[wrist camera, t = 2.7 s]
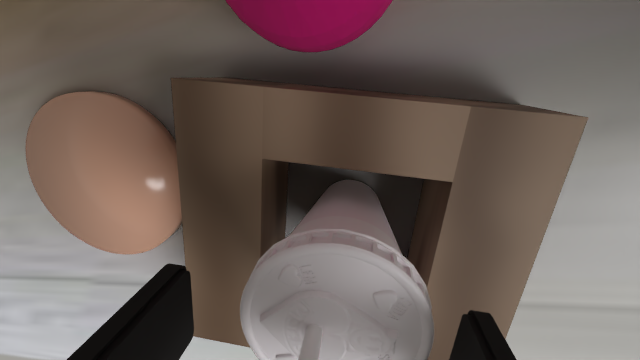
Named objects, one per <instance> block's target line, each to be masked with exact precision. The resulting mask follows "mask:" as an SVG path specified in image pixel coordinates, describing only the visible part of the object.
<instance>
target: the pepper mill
mask: <svg viewBox="0 0 640 360" xmlns="http://www.w3.org/2000/svg"><path fill="white" fill-rule="evenodd" d="M226 2H227V3H228V4H229V6H230V7H231V8H232V9H233V11H234V12H235V13H236V14H237V15H238V17H239V18H240V19H241V20H242V21H243V22H244V23H245V24H246V25H248V26H249V27H250V28H251V29H252V30H254V31H255V32H256V33H258V34H259V35H260V36H262V37H263V38H265V39H266V40H268V41H270V42H272V43H274V44H275V45H277V46H280V47H283V48H286V49H289V50H293V51H299V52H321V51H327V50H332V49H334V48H337V47H340V46H343V45H345V44H347V43H349V42H351V41H353V40H354V39H356V38H358V37H359V36H360V35H362V34H363V33H364V32H366V31H367V30H368V29H370V28H371V27H372V26H373V24H374V23H375V22H376V21H377V20H378V19H379V18H380V17H381V16H382V15H383V13H384V12H385V11H386V9H387V8H388V6H389V5H390V3H391V2H392V0H226Z"/></svg>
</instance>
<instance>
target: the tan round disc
mask: <svg viewBox="0 0 640 360" xmlns="http://www.w3.org/2000/svg"><path fill="white" fill-rule="evenodd" d="M26 161H27V166H28V171H29V174H30V177H31V180H32V183H33V185H34V187H35V190H36V192H37V193H38V195H39V197H40V199H41V201H42V202H43V204H44V205H45V206H46V208H47V209H48V211H49V212H50V213H51V214H52V216H53V217H54V218H55V219H56V220H57V221H58V222H59V223H60V224H61V225H62V226H63V227H64V228H65V229H67V230H68V231H69V232H70V233H71V234H73V235H74V236H76V237H77V238H78V239H80V240H82V241H84V242H85V243H87V244H89V245H91V246H93V247H95V248H98V249H101V250H104V251H107V252H111V253H117V254H137V253H143V252H146V251H149V250H151V249H153V248H155V247H157V246H159V245H160V244H161V243H163V242H164V241H165V240H167V239H168V238H169V237H170V236H171V235H173V234H174V233H175V232H176V231H177V230H178V229H179V227H180V226H181V224H182V214H181V201H180V189H179V176H178V163H177V151H176V142H175V140H174V139H173V137H172V136H171V134H170V133H169V132H168V130H167V129H166V128H165V127H164V126H163V124H162V123H161V122H160V121H159V120H158V119H157V118H156V117H154V116H153V115H152V114H151V113H150V112H148V111H147V110H146V109H144V108H143V107H141V106H140V105H138V104H136V103H135V102H133V101H131V100H129V99H127V98H124V97H122V96H119V95H116V94H113V93H107V92H98V91H88V92H74V93H67V94H64V95H60V96H57V97H55V98H53V99H52V100H50V101H48V102H47V103H46V104H44V105H43V106H42V107H41V108H40V109H39V111H38V112H37V113H36V114H35V116H34V118H33V119H32V121H31V124H30V126H29V129H28V133H27V138H26Z"/></svg>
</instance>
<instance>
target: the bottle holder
mask: <svg viewBox="0 0 640 360" xmlns="http://www.w3.org/2000/svg"><path fill="white" fill-rule="evenodd" d="M171 88H172V100H173V113H174V125H175V138H176V151H177V163H178V176H179V189H180V201H181V214H182V227H183V239H184V252H185V264H186V269H187V271H189V272H190V275H191V290H192V305H193V320H194V334H193V336H195V337H200V338H205V339H210V340H215V341H220V342H225V343H230V344H235V345H240V346H245V347H250V346H249V344H248V342H247V340H246V338H245V335H244V333H243V329H242V326H241V320H240V302H241V297H242V293H243V290H244V288H245V286H246V283H247V282H248V280H249V278H250V275H251V274H252V272H253V270H254V268H255V266H256V264H257V262H258V260H259V259H260V258H261V257H262V256H263V255H264V254H265V253H266V252H267V251H268V250H269V249H270V248H271V247H272V246H273V245H274V244H275V243H277V242H279V241H281V240H283V239H285V228H286V207H287V187H288V167H289V162H293V163H301V164H309V165H317V166H325V167H334V168H342V169H350V170H358V171H366V172H374V173H382V174H390V175H399V176H407V177H415V178H423V179H424V182H423V186H422V191H421V196H420V201H419V205H418V210H417V215H416V220H415V225H414V229H413V234H412V239H411V244H410V248H409V253H408V258H407V260H408V261H409V262H411V263H412V264H413V265H414V267H415V268H416V270H417V272H418V273H419V275H420V276H421V278H422V280H423V281H424V283H425V284H426V287H427V291H428V294H429V298H430V302H431V306H432V310H431V312H432V317H433V322H434V341H433V346H432V349H431V352H430V355H429V357H428V359H427V360H449V358H450V355H451V352H452V348H453V345H454V341H455V338H456V335H457V331H458V328H459V325H460V321H461V318H462V315H463V314H468V312H469V311H470V310H474V311H480V312H487V313H490V314H491V315H492V317H493V318H494V320H495V322H496V324H497V326H498V328H499V329H500V331H501V333H502V335H503V337H504V338H506V336H507V333H508V330H509V328H510V325H511V322H512V320H513V317H514V314H515V312H516V309H517V306H518V304H519V301H520V298H521V296H522V293H523V290H524V288H525V285H526V282H527V280H528V277H529V274H530V272H531V269H532V266H533V264H534V261H535V258H536V256H537V253H538V250H539V248H540V245H541V242H542V240H543V237H544V235H545V232H546V229H547V227H548V224H549V221H550V219H551V216H552V213H553V211H554V208H555V205H556V203H557V200H558V197H559V195H560V192H561V189H562V187H563V184H564V181H565V179H566V176H567V173H568V171H569V168H570V165H571V163H572V160H573V157H574V155H575V152H576V149H577V147H578V144H579V141H580V139H581V136H582V133H583V131H584V128H585V125H586V123H587V120H588V117H583V116H577V115H572V114H567V113H562V112H556V111H551V110H546V109H540V108H535V107H530V106H525V105H516V104H506V103H495V102H484V101H473V100H462V99H452V98H441V97H430V96H419V95H408V94H398V93H387V92H376V91H365V90H354V89H344V88H333V87H322V86H311V85H300V84H290V83H279V82H268V81H257V80H246V79H236V78H225V77H218V78H171Z"/></svg>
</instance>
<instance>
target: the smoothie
mask: <svg viewBox="0 0 640 360" xmlns="http://www.w3.org/2000/svg"><path fill="white" fill-rule="evenodd" d="M431 310H432V306H431V302H430V298H429V294H428V291H427V287H426V284H425V283H424V281H423V280H422V278H421V276H420V275H419V273H418V272H417V270H416V268H415V267H414V265H413V264H412V263H411V262H409V261H408V260H407V259H406V258H405V257H404V256H403V255H402V253H401V251H400V248H399V246H398V244H397V241H396V239H395V237H394V234H393V232H392V230H391V227H390V225H389V223H388V220H387V218H386V216H385V213H384V211H383V208H382V206H381V204H380V201H379V199H378V197H377V195H376V193H375V192H374V191H373V190H372V189H371V188H370V187H369V186H368V185H366V184H364V183H362V182H360V181H356V180H342V181H339V182H336V183H334V184H332V185H331V186H330V187H329V188H328V189H327V190H326V191H325V192H324V193H323V195H322V196H321V197H320V198H319V200H318V201H317V202H316V203H315V204H314V206H313V207H312V208H311V209H310V211H309V212H308V213H307V214H306V216H305V217H304V218H303V219H302V221H301V222H300V223H299V224H298V225H297V227H296V228H295V229H294V230H293V232H292V233H291V234H290V235H289V236H288V237H287V238H285V239H283V240H281V241H279V242H277V243H275V244H274V245H273V246H272V247H271V248H270V249H269V250H268V251H267V252H266V253H265V254H264V255H263V256H262V257H261V258H260V259H259V260H258V262H257V264H256V266H255V268H254V270H253V272H252V274H251V275H250V278H249V280H248V282H247V283H246V286H245V288H244V290H243V293H242V297H241V302H240V320H241V326H242V329H243V333H244V335H245V338H246V340H247V342H248V344H249V346H250V348H251V349H252V351H253V352H254V354H255V355H256V356H257V357H258V359H259V360H427V359H428V357H429V355H430V352H431V349H432V346H433V341H434V322H433V317H432V312H431Z"/></svg>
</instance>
